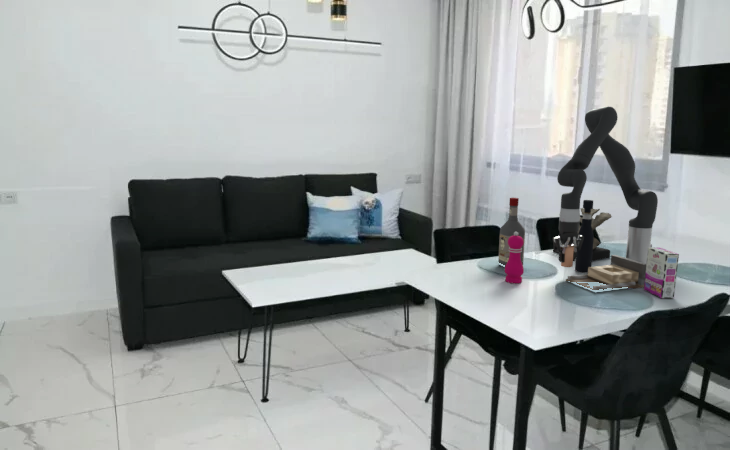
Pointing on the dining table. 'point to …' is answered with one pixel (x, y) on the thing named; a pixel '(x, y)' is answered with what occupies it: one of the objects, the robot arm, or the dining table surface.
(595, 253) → the coral
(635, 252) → the robot arm
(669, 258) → the candy bar box
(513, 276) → the pepper mill
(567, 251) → the dowel
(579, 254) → the wine bottle
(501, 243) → the liquor
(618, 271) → the socket block
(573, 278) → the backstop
